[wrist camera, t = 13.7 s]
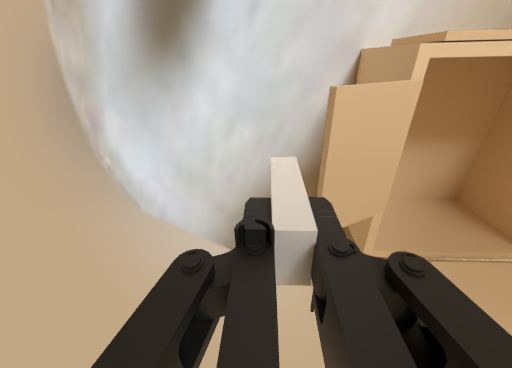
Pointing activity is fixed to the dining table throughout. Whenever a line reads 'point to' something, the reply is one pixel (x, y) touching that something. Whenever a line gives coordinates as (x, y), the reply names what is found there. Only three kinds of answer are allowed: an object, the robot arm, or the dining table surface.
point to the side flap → (364, 145)
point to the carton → (448, 148)
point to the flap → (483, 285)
